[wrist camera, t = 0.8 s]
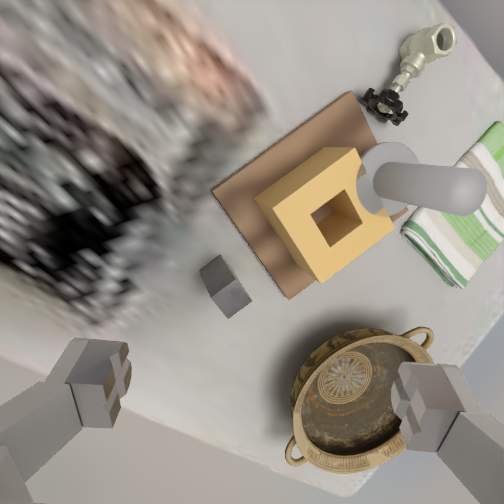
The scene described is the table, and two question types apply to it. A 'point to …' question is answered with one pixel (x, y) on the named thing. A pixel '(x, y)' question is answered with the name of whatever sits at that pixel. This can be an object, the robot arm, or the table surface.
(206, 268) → the square peg
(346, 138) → the base board
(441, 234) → the dish towel
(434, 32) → the valve
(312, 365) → the ceramic bowl
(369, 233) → the square hole block
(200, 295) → the table surface
